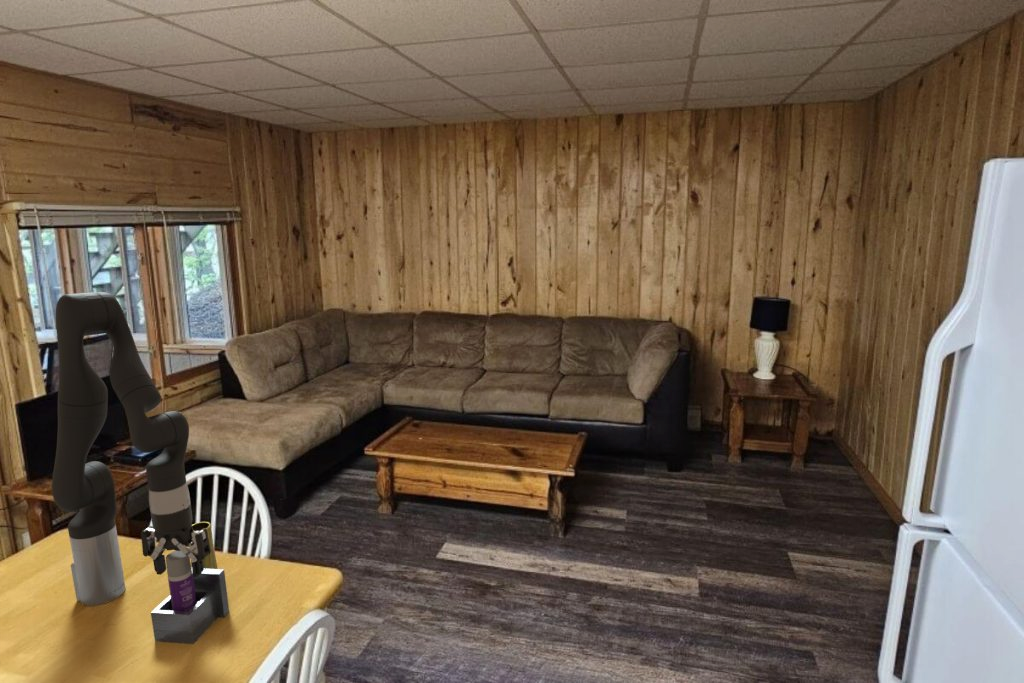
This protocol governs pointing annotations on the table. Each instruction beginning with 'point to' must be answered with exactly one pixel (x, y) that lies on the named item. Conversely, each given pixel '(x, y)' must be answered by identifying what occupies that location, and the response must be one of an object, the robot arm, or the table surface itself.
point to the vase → (210, 559)
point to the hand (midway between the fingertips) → (179, 573)
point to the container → (180, 581)
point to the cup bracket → (193, 610)
